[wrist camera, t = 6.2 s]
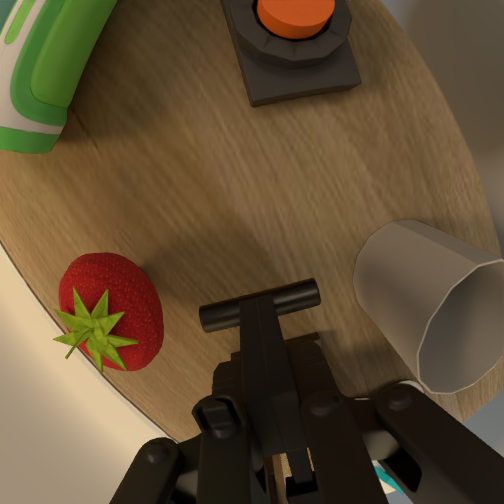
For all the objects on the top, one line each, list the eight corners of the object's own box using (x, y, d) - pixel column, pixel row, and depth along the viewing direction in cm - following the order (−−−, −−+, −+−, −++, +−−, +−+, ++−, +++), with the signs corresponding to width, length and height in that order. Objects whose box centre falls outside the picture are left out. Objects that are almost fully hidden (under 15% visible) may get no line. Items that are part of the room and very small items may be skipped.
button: (249, -10, 14) (251, -27, 12) (313, -17, 14) (321, -32, 12) (267, 44, 15) (271, 31, 13) (333, 35, 15) (344, 23, 13)
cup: (426, 318, 24) (492, 384, 15) (343, 319, 24) (395, 404, 14) (450, 224, 22) (538, 263, 12) (364, 212, 21) (447, 252, 12)
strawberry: (132, 334, 23) (88, 423, 14) (81, 252, 21) (2, 310, 12) (195, 307, 23) (173, 400, 13) (144, 215, 21) (77, 261, 11)
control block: (216, -13, 16) (213, -41, 12) (310, -25, 16) (322, -52, 12) (251, 107, 19) (254, 95, 15) (350, 89, 19) (373, 77, 15)
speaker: (96, -51, 14) (62, -94, 7) (171, -47, 15) (151, -104, 8) (9, 134, 18) (-56, 135, 11) (75, 155, 19) (11, 158, 12)
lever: (204, 306, 17) (193, 306, 15) (310, 279, 17) (316, 274, 15) (264, 513, 15) (263, 535, 12) (358, 492, 15) (366, 511, 12)
